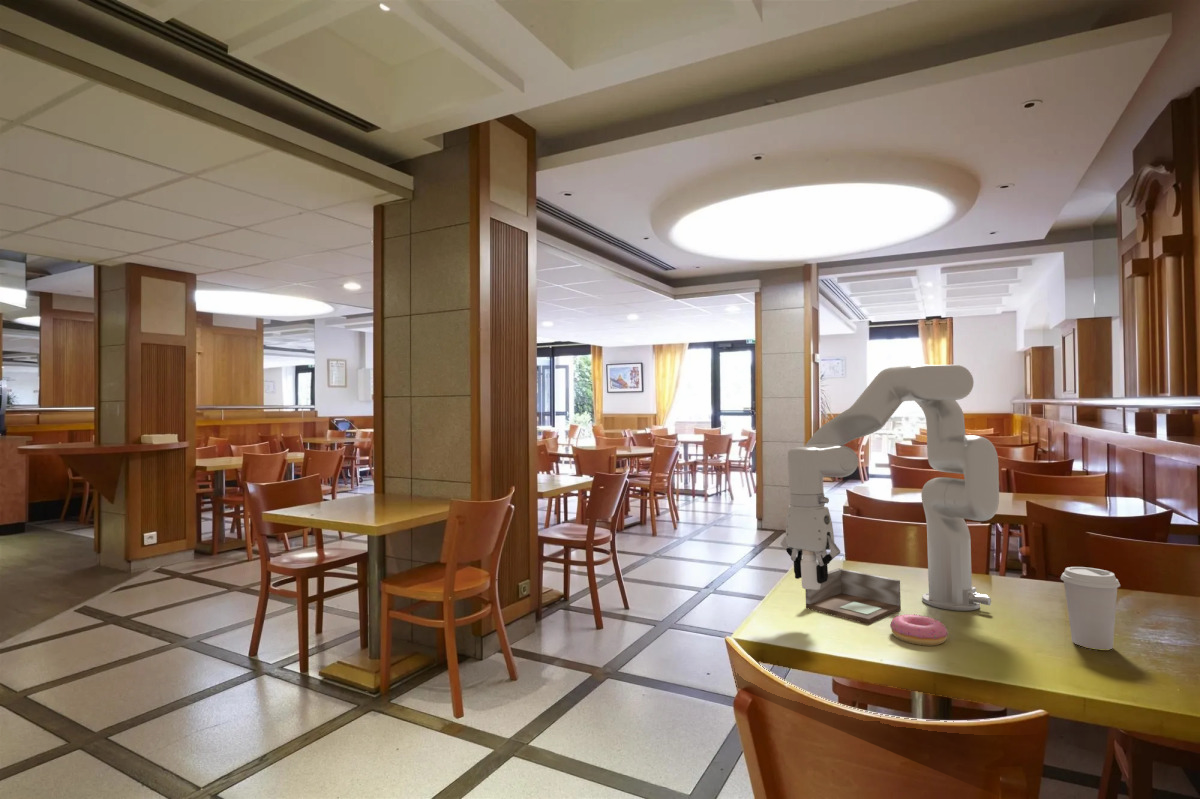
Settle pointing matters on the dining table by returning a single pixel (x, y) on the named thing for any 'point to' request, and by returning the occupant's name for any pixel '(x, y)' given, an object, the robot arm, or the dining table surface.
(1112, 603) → the coffee cup
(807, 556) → the salt shaker
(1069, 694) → the dining table surface
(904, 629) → the doughnut
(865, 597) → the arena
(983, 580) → the dining table surface
